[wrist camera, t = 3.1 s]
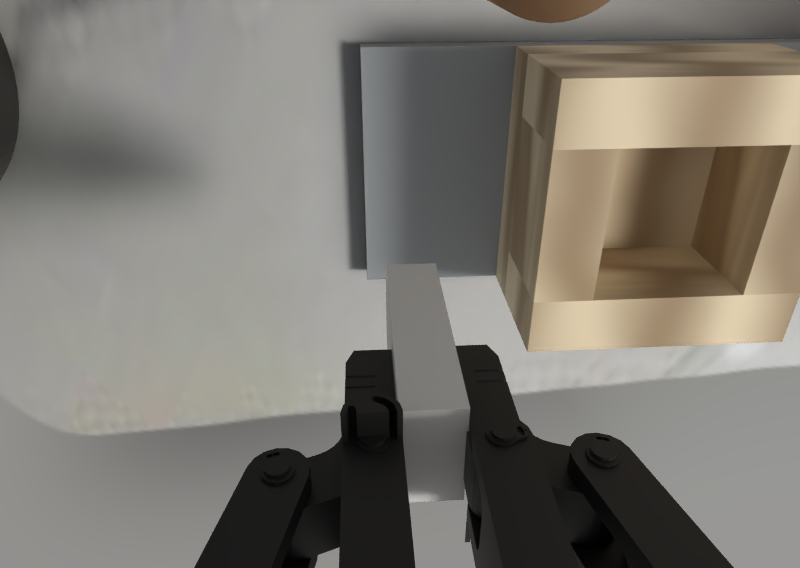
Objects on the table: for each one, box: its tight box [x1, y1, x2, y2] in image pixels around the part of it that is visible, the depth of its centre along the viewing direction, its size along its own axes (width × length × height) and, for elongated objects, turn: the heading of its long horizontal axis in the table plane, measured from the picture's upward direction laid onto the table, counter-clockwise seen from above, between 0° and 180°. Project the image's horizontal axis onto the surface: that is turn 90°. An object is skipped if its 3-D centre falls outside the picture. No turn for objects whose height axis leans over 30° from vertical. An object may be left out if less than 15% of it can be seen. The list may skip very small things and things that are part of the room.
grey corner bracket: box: [360, 39, 800, 280], centre depth 25 cm, size 29×11×11 cm, turn 90°
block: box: [496, 43, 800, 352], centre depth 26 cm, size 11×11×6 cm
